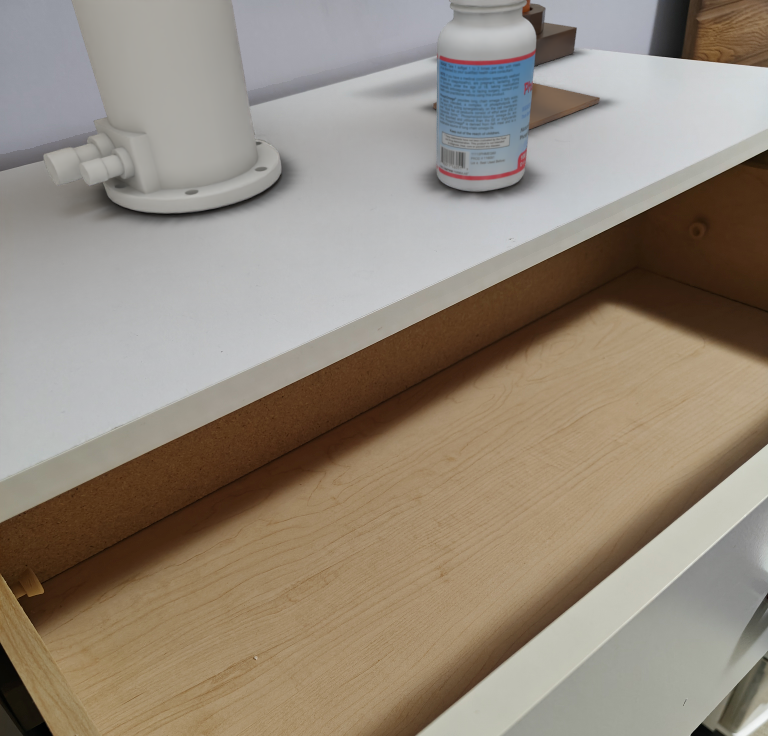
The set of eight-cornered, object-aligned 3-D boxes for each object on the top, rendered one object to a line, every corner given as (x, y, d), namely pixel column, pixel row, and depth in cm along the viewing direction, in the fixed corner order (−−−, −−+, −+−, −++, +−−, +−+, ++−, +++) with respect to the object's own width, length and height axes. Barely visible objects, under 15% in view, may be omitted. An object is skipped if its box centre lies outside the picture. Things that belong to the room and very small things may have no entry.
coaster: (521, 132, 53) (521, 127, 53) (432, 108, 59) (432, 103, 59) (599, 102, 58) (600, 97, 57) (510, 82, 63) (510, 77, 63)
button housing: (508, 74, 65) (512, 24, 62) (442, 60, 70) (442, 12, 67) (574, 53, 69) (580, 5, 67) (507, 41, 74) (510, -5, 71)
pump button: (512, 19, 65) (514, -4, 64) (485, 15, 67) (486, -7, 66) (536, 12, 67) (539, -10, 66) (509, 8, 69) (510, -13, 68)
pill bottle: (539, 186, 46) (562, -25, 38) (453, 200, 45) (459, -13, 37) (503, 157, 50) (517, -39, 42) (424, 169, 49) (423, -29, 41)
